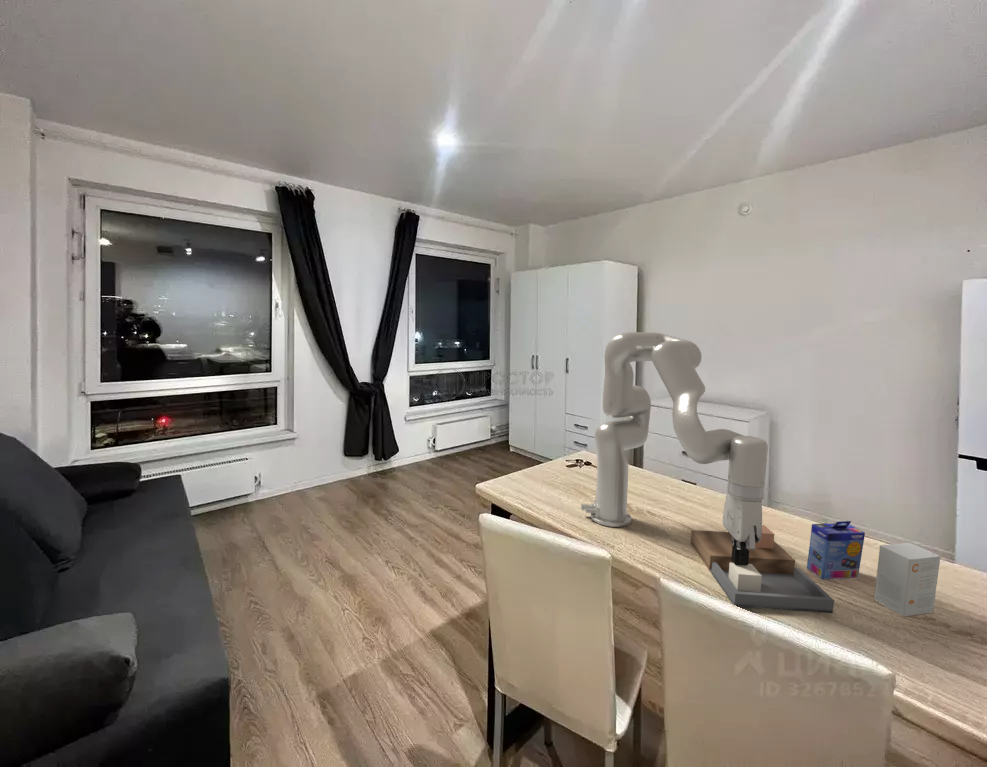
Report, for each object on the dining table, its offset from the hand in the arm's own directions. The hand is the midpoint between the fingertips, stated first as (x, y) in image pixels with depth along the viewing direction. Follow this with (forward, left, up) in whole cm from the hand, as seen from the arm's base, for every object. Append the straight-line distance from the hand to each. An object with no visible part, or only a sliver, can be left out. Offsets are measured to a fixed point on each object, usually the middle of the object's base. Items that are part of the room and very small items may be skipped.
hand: (739, 563), depth 104 cm
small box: (+32, -6, -5) cm, 33 cm away
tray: (+5, -3, -5) cm, 8 cm away
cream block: (0, -2, 0) cm, 2 cm away
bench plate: (+5, +11, -5) cm, 13 cm away
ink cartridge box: (+25, +6, -5) cm, 26 cm away
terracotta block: (+10, +12, -1) cm, 16 cm away
